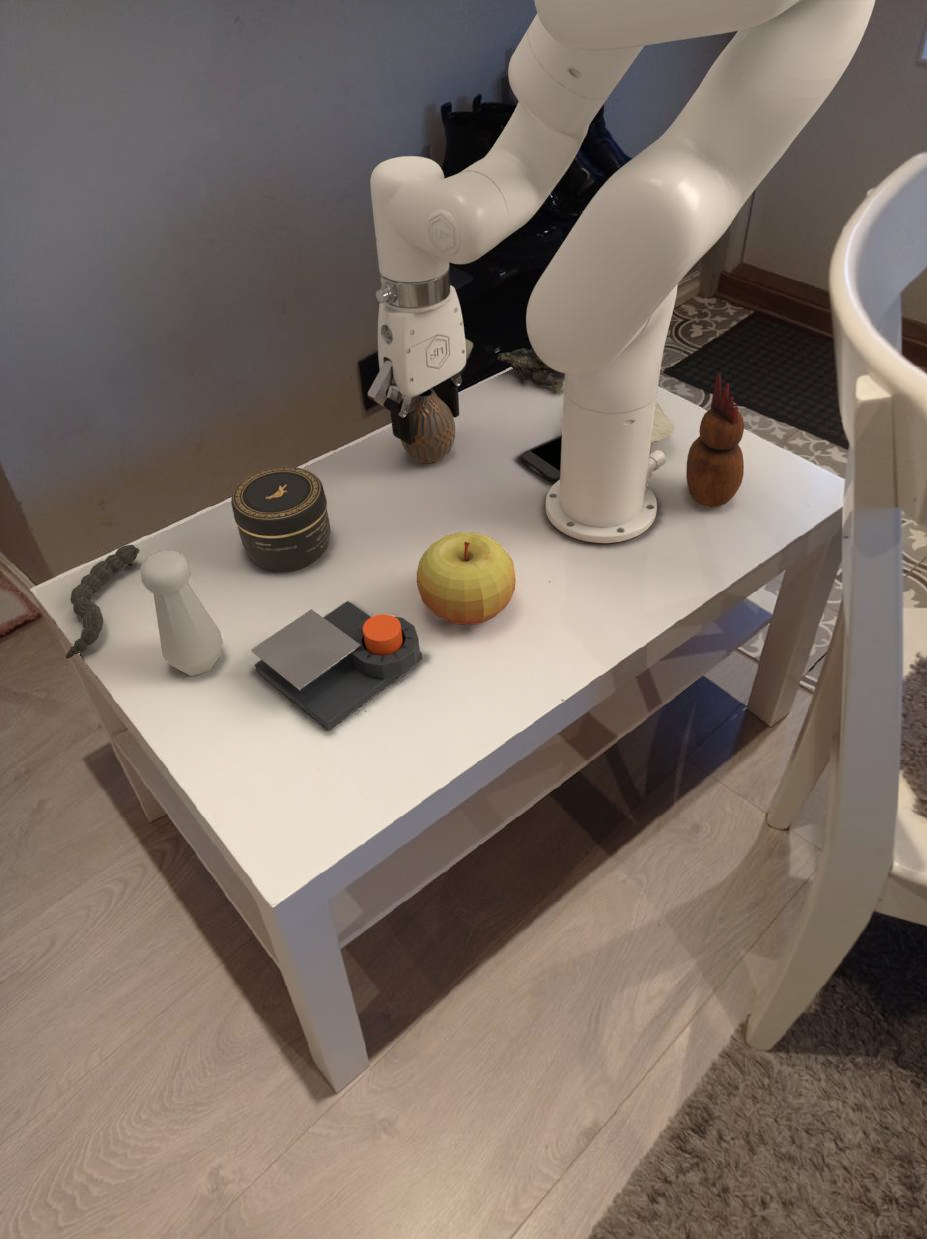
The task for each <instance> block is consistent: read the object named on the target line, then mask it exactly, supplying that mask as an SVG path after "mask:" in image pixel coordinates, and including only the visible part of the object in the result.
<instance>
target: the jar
mask: <svg viewBox="0 0 927 1239" xmlns="http://www.w3.org/2000/svg"><path fill="white" fill-rule="evenodd" d="M230 499H231V500H230V501H231V509H232V514H233V519H234V522H235V524H236V527H237V530H238V534H239V537H240V541H241V543H242V544H241V545H242V547H243V549H244V550H245V553H246V554H247V555H248V556H249V558H250V559H251V561H252V562H253V563H254V564H256V565H257V566H259V567H261V568H264V569H266V570H269V571H273V572H292V571H297V570H300V569H303V568H306V567H308V566H310V565H312V564H313V563H315V562H317V561H318V560H319V559H320V558H321V557H322V556H323V554H324V553H325V552H326V550H327V549H328V547H329V543H330V538H331V522H330V516H329V513H328V511H329V510H328V499H327V496H326V493H325V489H324V485H323V483H322V481H321V479H320V478H319V477H318V476H317V475H316V474H314V473H313V472H312V471H310V470H307V469H305V468H301V467H297V466H287V465H286V466H285V465H283V466H275V467H268V468H265V469H264V468H263V469H261V470H259V471H256V472H254V473H252V474H250V475H248V476H247V477H245V478H244V479H242V480H241V481H240V482H239V483H238V484H237V485H236V487H235V488H234V489H233V492H232V495H231V498H230Z"/></svg>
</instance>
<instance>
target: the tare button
mask: <svg viewBox="0 0 927 1239" xmlns="http://www.w3.org/2000/svg"><path fill="white" fill-rule="evenodd" d="M370 617H371V618H369V619H368V620H367V621H366V622H365V623H364V625H363V635H364V641H365V646H366V648H367V650H368V651H369V652H370V653H372V654H375V655H380V656H384V655H388V654H392V653H394V652H396V651H397V650H398V649H399V648H400V647H401V645H402V642H403V639H402V631H401V624H400V622H399V620H398V619H397V618H396V617H397V616H395V617H394V615H391V614H387V613H380V614H376V615H373V616H370Z"/></svg>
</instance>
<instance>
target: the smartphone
mask: <svg viewBox="0 0 927 1239" xmlns="http://www.w3.org/2000/svg"><path fill="white" fill-rule="evenodd" d="M561 445H562V434H560V435H557V436H556V437H554V438H551V439H549V440H547V441H545V442H542V443H541V444H538V445H535V446H534V447H532V448H530V449H527V450H525V451H523V452H522V453H521V454H520V456H519V459H520V462H521V463H523V464H524V465H525V466H527V467H529V468H530V469H531V470H533V471H534V472H536V473H537V474H538V475H540V476H541V477H542V478H544V479H545V480H547V481H548V482H551V483H556V482H557V481H558V480H560V469H561Z"/></svg>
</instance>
